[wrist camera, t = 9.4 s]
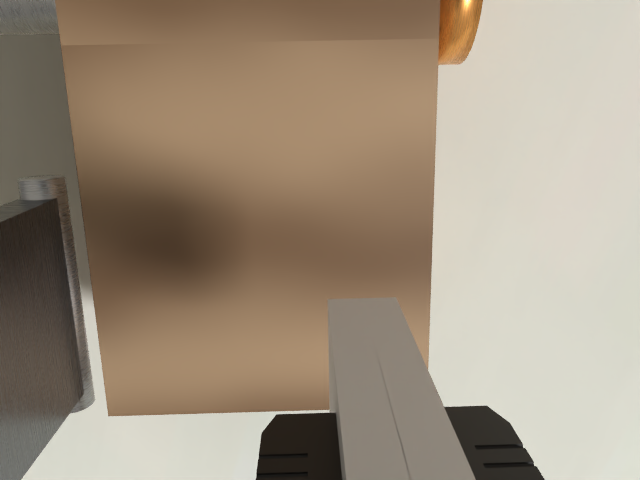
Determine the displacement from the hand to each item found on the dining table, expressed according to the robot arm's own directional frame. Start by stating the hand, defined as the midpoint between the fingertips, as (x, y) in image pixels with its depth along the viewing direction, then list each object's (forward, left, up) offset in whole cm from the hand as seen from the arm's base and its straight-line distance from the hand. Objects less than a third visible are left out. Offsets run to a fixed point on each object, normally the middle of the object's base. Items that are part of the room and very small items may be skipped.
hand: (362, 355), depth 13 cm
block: (-5, -3, -12) cm, 14 cm away
